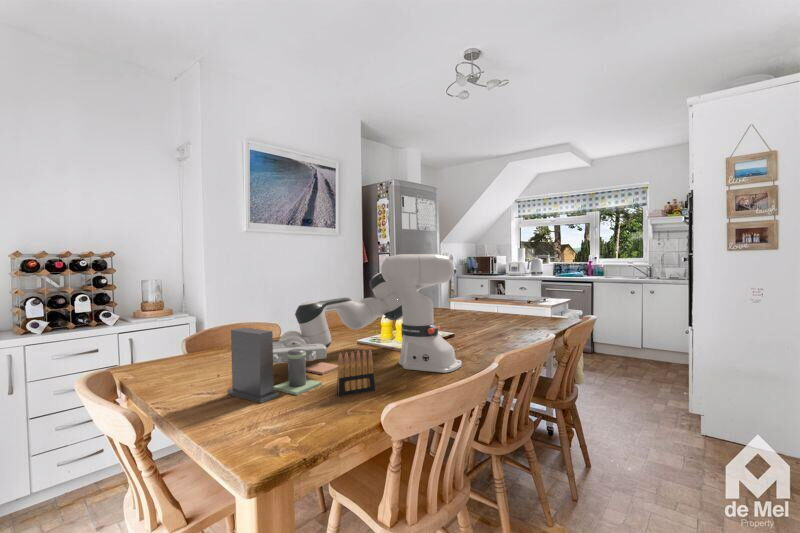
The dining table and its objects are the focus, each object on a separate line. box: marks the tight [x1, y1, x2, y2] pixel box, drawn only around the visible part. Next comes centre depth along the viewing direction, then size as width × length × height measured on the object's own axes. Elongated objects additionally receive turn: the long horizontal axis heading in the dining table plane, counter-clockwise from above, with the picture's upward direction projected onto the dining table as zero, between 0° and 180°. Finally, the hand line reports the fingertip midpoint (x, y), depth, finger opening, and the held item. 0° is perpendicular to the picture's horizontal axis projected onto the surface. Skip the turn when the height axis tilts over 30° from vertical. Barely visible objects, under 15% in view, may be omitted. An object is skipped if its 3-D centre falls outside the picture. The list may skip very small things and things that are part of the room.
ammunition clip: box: [336, 348, 376, 397], centre depth 110 cm, size 11×2×12 cm, turn 115°
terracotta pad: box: [306, 361, 338, 376], centre depth 133 cm, size 9×9×1 cm
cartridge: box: [287, 349, 307, 387], centre depth 115 cm, size 5×5×10 cm
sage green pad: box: [274, 378, 323, 396], centre depth 115 cm, size 10×10×1 cm
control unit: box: [227, 327, 280, 404], centre depth 108 cm, size 14×6×18 cm, turn 59°
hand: (295, 359), depth 117 cm, fingers open, 8 cm apart
